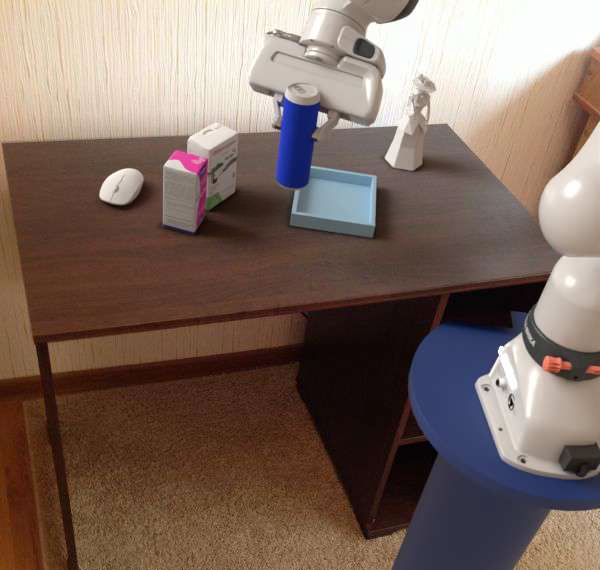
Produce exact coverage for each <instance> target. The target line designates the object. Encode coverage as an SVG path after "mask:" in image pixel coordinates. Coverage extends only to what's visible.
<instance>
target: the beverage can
mask: <svg viewBox="0 0 600 570" xmlns="http://www.w3.org/2000/svg"><path fill="white" fill-rule="evenodd" d="M319 106H320V93H319V89H318V88H317V87H315V86H314V85H311V84H308V83H301V82H299V83H292V84H290V85H289V86H288V87H287V90H286V92H285V96H284V105H283V107H282V114H281V115H282V124H281V131H280V135H279V145H278V154H277V165H276V171H275V180H276V182H277V184H278V185H279V187H281V188H282V189H284V190H287V191H292V192H293V191H294V192H295V191H296V190H301V189H303V188H304V187H305V186H307V184H308V183H309V176H310V169H311V166H312V161H313V154H314V148H315V147H314V146H315V142H314V141H313V140H312V139H311V137H312V133H314V129H315V127H318V120H319V113H320V112H319Z"/></svg>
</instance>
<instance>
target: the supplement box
mask: <svg viewBox="0 0 600 570" xmlns="http://www.w3.org/2000/svg"><path fill="white" fill-rule="evenodd" d="M162 167H163V168H162V169H163V171H162V172H163V173H162V175H163V176H162V177H163V178H162V181H163V182H162V184H163V186H162V228H166V229H169V230H174V231H178V232H181V233H186V234H189V235H195V234H196V232H197V230H198V228H199V227H200V225H201V224H202V222H203V220H204V219H205V218H206V210H205V206H206V188H207V170H208V158H205V157H201V156H197V155H193V154H189V153H187V152H185V151H182V150H178V149H176V150H175V151H174V152H173V153H172V155H171V156H169V158H168V160H167V161H165V163H164V165H163V166H162Z"/></svg>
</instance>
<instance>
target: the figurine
mask: <svg viewBox="0 0 600 570" xmlns="http://www.w3.org/2000/svg"><path fill="white" fill-rule="evenodd" d="M416 75H417V76H416V77H415V78H414V79H412V83H413V84H414V85H415V89H416V91H417V92H415V93H414V92H411V93H410V94H409V95H408V99H407V102H406V103H407V104H406V107H405V111H406V112H405V114H403V116H402V117H400V118H399V120H397V122H396V123H395V125H396V126H397V128H396V131H395V134H394V137H393V140H392V141H391V144H390V146H389V148H388V149H387V152H386V154H385V156H384V160H385V161H386V162H387V163H388V164H390V166H391V167H392V168H394V169H399V170H405V171H412V172H413V171H415V170H416V169H418V168H420V166H422V165H423V159H424V158H423V156H424V155H423V154H424V153H423V152H424V141H425V135H426V133H427V131H428V130H429V129H428V124H429V121H430V117H431V94H433V93H435V92H437V87H436V83H435V82H434V81H433V80H431V79H430V76H426V75H424V74H423V73H422V72H417V73H416ZM411 104H412V108H413V110H410V106H411ZM425 107H427V110H426V117H425V115H424V114H423V113H422V112H423V110H424V108H425Z"/></svg>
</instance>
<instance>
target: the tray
mask: <svg viewBox="0 0 600 570" xmlns="http://www.w3.org/2000/svg"><path fill="white" fill-rule="evenodd" d="M377 178H378V176H377V175H374V174H367V173H361V172H356V171H355V172H354V171H349V170H342V169H335V168H328V167H322V166H315V165H311V169H310V176H309V183H308V184H307V186H305V187H304V188H303V189H301V190H296V191H294V195H293V201H292V207H291V213H290V220H289V226H292V227H298V228H304V229H311V230H318V231H325V232H330V233H337V234H344V235H351V236H357V237H364V238H370V239H373V238H374V233H375V228H376V215H377V213H376V211H377V184H378V183H377V180H378V179H377Z"/></svg>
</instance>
